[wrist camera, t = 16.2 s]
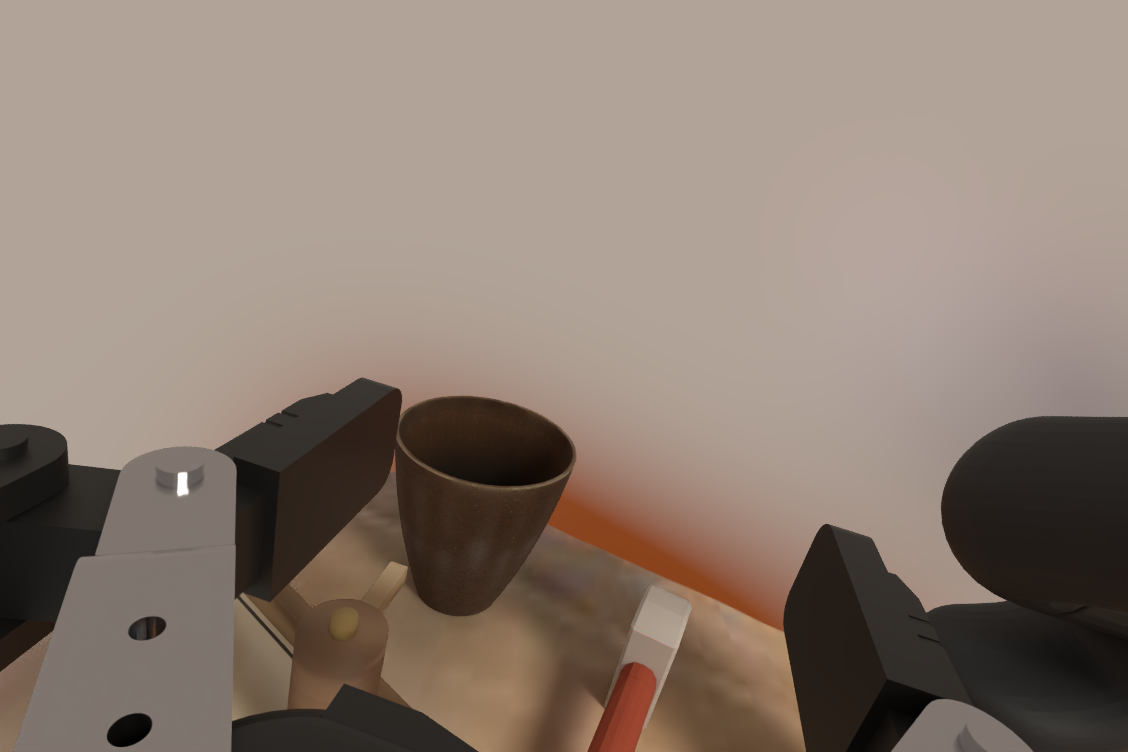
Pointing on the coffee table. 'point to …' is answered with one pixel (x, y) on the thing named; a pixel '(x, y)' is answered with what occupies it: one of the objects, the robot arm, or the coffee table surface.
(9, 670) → the coffee table surface
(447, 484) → the plant pot
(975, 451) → the robot arm
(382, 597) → the cylinder
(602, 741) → the mallet
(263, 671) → the board
